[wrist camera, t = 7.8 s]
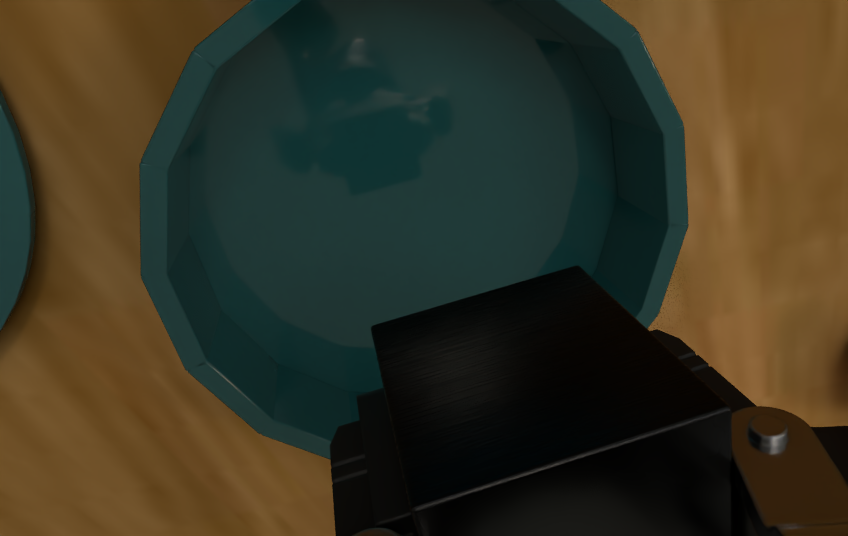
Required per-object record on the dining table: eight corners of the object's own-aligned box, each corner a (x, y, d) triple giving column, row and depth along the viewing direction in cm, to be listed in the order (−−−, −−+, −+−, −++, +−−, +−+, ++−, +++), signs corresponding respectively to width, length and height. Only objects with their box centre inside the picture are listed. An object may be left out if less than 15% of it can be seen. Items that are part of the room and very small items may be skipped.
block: (419, 485, 14) (474, 711, 10) (369, 324, 12) (409, 510, 8) (599, 428, 14) (734, 620, 10) (578, 262, 13) (734, 406, 8)
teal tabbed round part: (284, 493, 29) (281, 570, 25) (38, -63, 19) (-34, -83, 15) (646, 380, 30) (698, 436, 26) (597, -197, 20) (668, -247, 16)
